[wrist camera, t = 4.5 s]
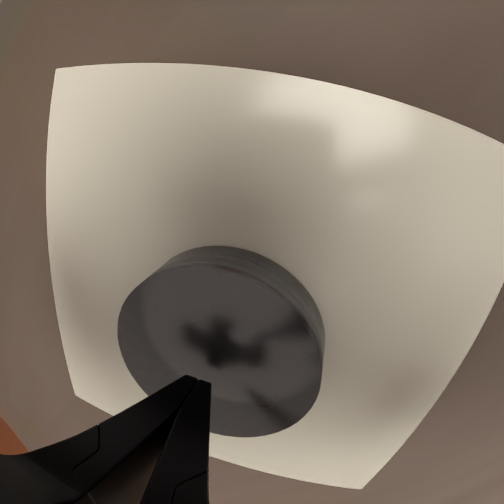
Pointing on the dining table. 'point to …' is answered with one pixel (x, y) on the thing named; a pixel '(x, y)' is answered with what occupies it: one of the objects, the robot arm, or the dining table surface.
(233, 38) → the dining table surface
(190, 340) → the plunger
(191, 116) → the block
